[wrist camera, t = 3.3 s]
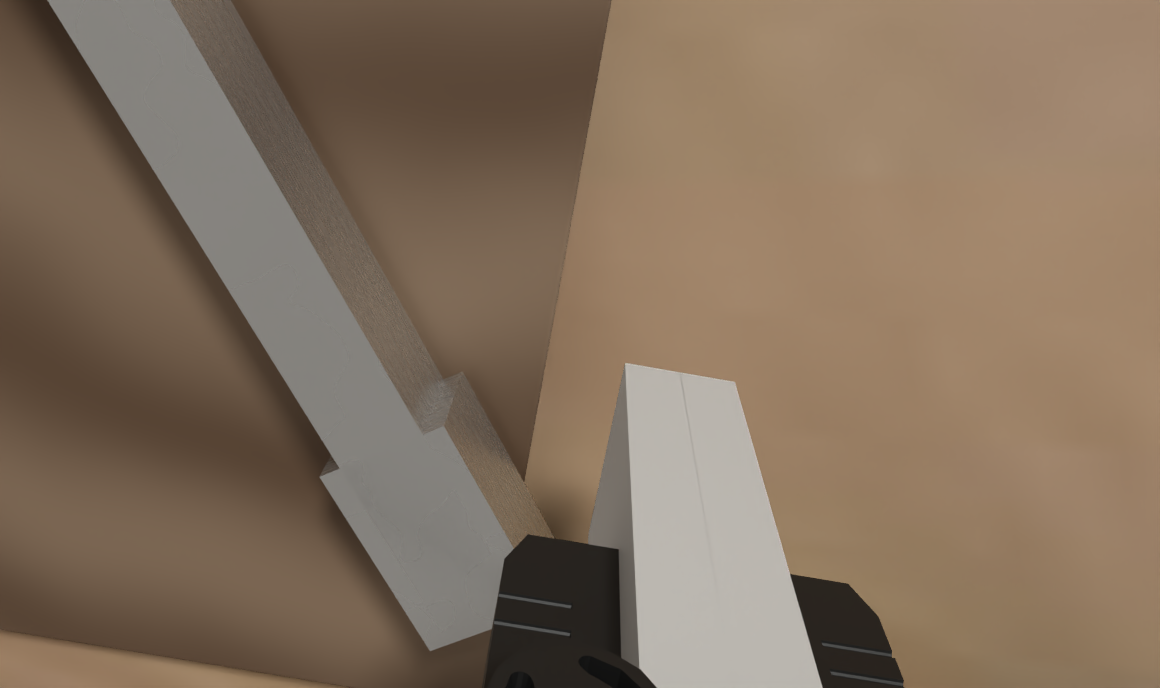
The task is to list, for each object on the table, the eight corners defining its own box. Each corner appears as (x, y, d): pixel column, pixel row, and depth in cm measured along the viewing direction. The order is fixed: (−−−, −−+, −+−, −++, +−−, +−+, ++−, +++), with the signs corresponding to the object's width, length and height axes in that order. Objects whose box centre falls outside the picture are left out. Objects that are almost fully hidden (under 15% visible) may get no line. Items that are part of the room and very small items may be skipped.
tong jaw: (-201, -479, 14) (-375, -562, 12) (-54, -581, 14) (-203, -691, 11) (444, 580, 21) (420, 671, 18) (559, 537, 20) (551, 624, 18)
